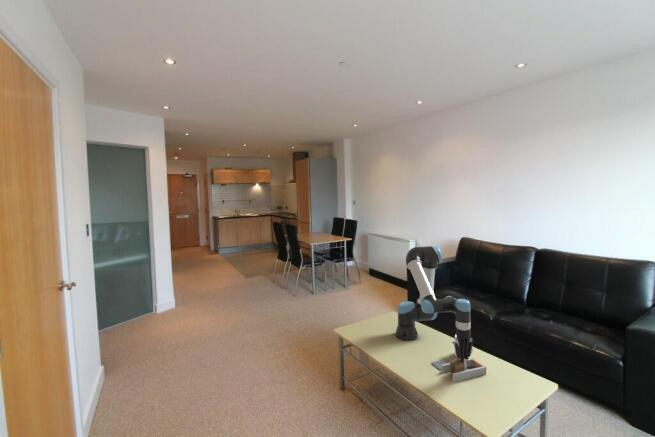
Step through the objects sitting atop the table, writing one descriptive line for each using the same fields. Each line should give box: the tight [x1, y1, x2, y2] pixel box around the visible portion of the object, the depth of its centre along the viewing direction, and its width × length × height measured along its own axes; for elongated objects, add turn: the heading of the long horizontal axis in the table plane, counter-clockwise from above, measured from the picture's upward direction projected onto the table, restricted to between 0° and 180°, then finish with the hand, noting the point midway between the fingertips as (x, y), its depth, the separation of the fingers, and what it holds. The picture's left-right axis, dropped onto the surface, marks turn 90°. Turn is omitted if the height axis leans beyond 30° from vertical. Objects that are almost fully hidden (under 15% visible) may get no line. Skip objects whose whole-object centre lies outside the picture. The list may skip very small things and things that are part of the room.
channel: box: [440, 357, 487, 383], centre depth 175 cm, size 10×21×4 cm, turn 108°
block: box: [449, 358, 464, 375], centre depth 173 cm, size 5×5×7 cm
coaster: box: [430, 359, 448, 371], centre depth 183 cm, size 8×8×1 cm
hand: (463, 369), depth 175 cm, fingers closed
